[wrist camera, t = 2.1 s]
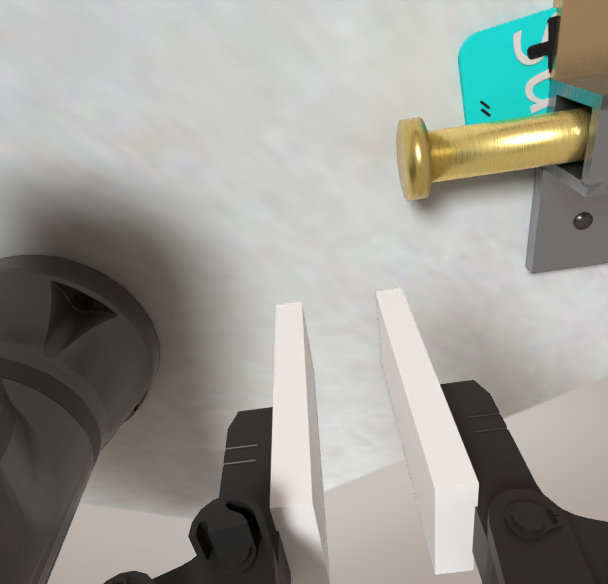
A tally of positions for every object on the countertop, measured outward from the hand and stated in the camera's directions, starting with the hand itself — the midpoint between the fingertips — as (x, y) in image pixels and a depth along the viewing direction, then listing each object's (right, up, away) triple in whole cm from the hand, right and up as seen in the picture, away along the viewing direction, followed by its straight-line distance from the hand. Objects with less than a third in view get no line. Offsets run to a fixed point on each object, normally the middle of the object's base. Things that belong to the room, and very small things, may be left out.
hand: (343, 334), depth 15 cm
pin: (+14, +11, +14) cm, 23 cm away
